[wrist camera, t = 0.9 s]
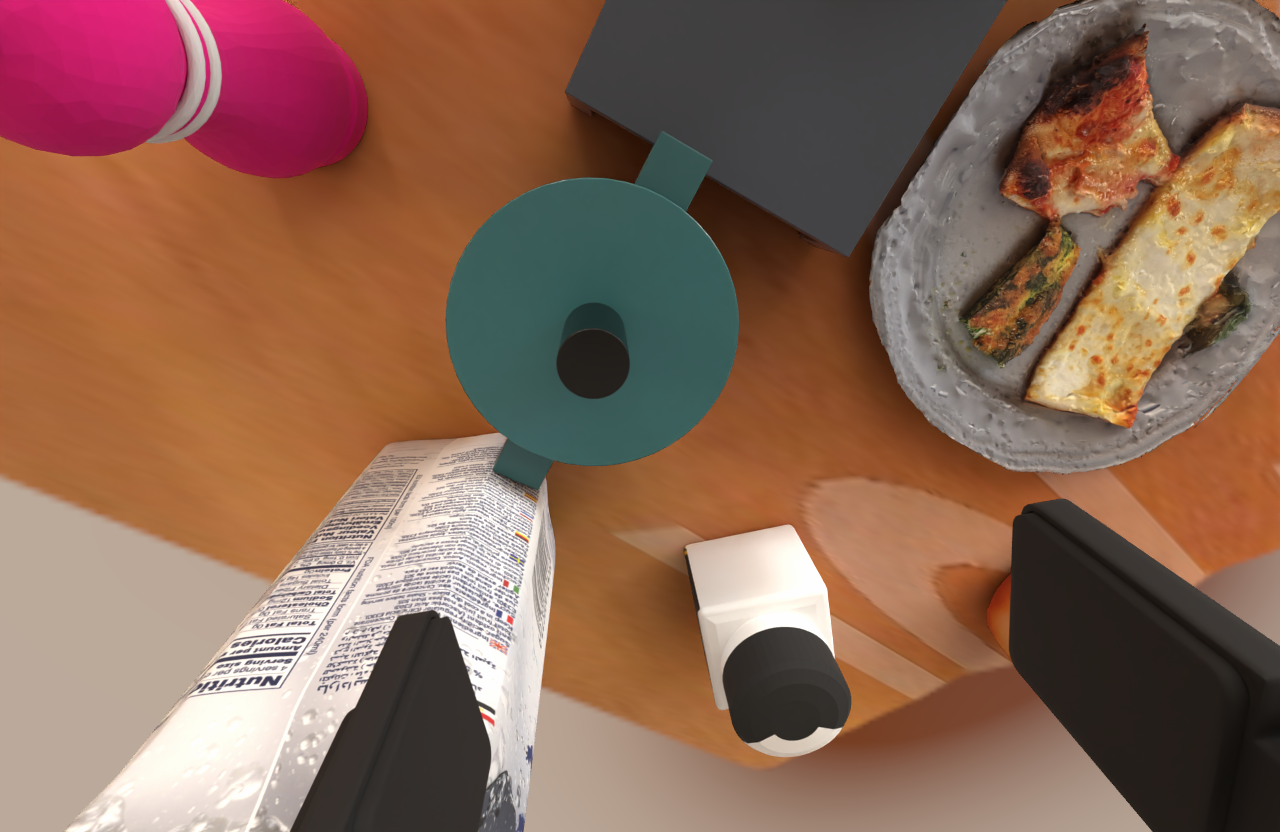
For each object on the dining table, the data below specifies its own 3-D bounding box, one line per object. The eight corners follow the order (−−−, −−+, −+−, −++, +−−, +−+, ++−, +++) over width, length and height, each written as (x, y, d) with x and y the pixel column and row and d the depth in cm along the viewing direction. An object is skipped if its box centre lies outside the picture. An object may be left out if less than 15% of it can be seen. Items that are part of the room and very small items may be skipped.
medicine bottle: (682, 543, 42) (712, 678, 31) (791, 521, 42) (862, 648, 31) (700, 633, 44) (734, 788, 33) (803, 612, 44) (873, 760, 33)
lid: (407, 385, 29) (360, 436, 24) (524, 118, 26) (503, 101, 20) (651, 497, 32) (662, 567, 26) (787, 267, 28) (834, 289, 23)
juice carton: (366, 428, 38) (-95, 926, 13) (547, 412, 38) (445, 866, 13) (397, 560, 41) (76, 1171, 16) (565, 544, 42) (510, 1118, 16)
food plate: (1082, -112, 31) (1139, -146, 28) (1388, 151, 36) (1468, 148, 33) (789, 342, 38) (807, 358, 35) (1082, 510, 43) (1122, 538, 40)
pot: (439, 381, 37) (396, 436, 29) (569, 93, 33) (559, 67, 25) (617, 463, 40) (621, 535, 32) (761, 206, 35) (809, 215, 27)
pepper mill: (382, 184, 34) (109, 195, 15) (234, 170, 33) (-243, 164, 14) (376, 24, 31) (40, -203, 13) (216, 6, 31) (-385, -260, 12)
